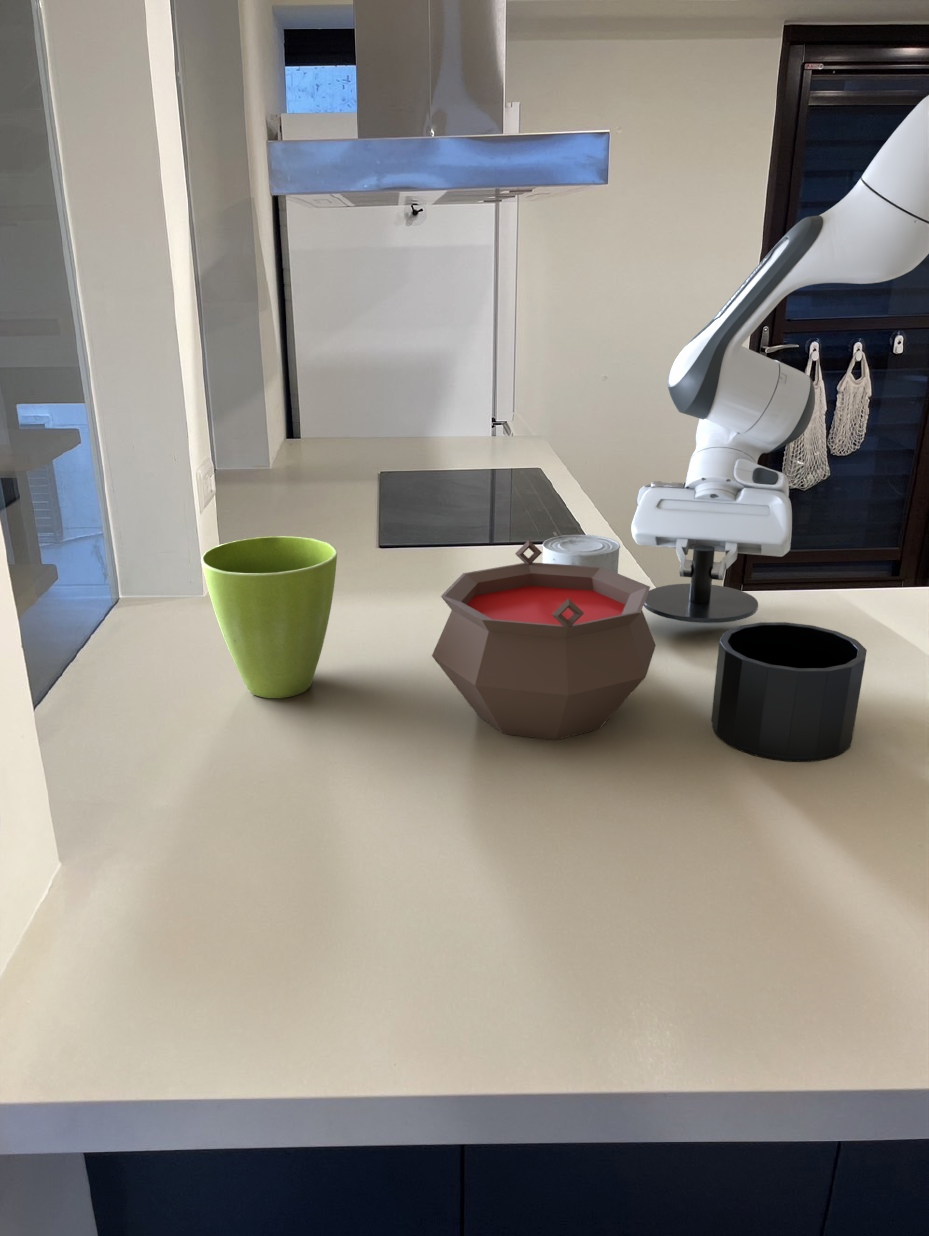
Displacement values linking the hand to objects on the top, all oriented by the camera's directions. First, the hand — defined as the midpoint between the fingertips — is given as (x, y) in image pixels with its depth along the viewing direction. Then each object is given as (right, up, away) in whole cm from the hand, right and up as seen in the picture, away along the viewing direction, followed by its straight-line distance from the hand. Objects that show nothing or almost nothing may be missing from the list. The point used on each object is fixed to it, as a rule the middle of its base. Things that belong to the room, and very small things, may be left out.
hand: (701, 576), depth 130 cm
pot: (+1, -19, -26) cm, 32 cm away
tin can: (-16, -8, +1) cm, 18 cm away
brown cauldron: (-23, -17, -20) cm, 35 cm away
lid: (0, -3, +2) cm, 4 cm away
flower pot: (-53, -14, -12) cm, 56 cm away
